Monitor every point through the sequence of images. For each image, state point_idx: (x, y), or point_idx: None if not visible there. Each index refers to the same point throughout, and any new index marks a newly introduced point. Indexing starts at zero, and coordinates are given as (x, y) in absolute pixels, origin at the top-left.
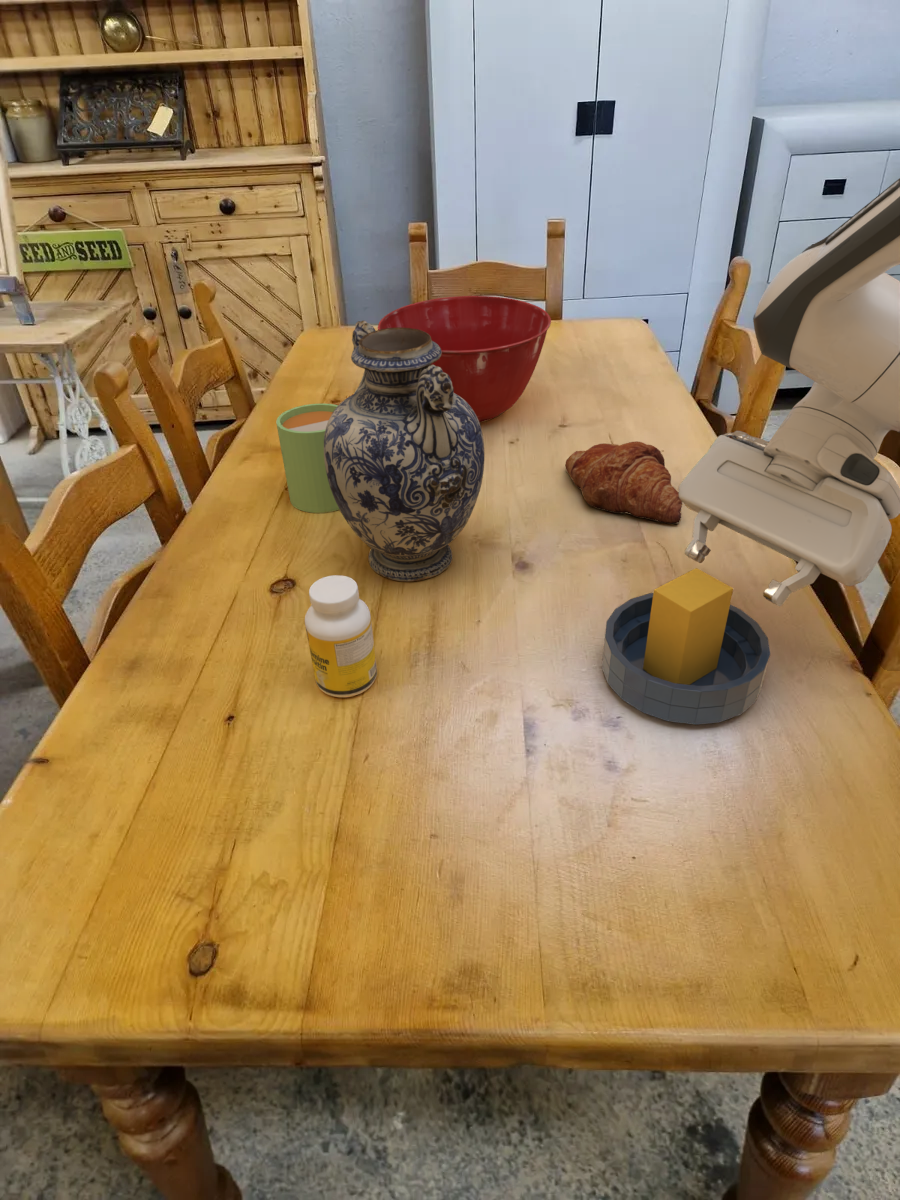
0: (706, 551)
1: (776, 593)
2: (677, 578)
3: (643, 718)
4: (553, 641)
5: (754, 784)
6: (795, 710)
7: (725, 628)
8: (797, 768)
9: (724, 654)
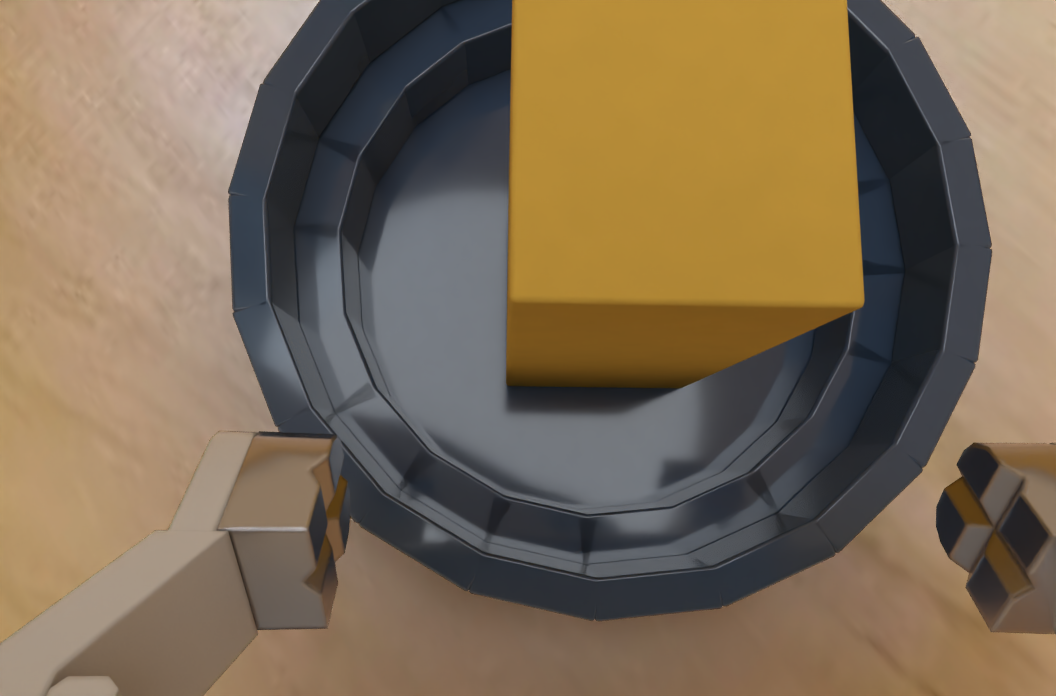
0: (992, 570)
1: (230, 459)
2: (842, 89)
3: None
4: (1005, 69)
5: (94, 67)
6: (190, 458)
7: (604, 537)
8: (35, 223)
9: (543, 481)
